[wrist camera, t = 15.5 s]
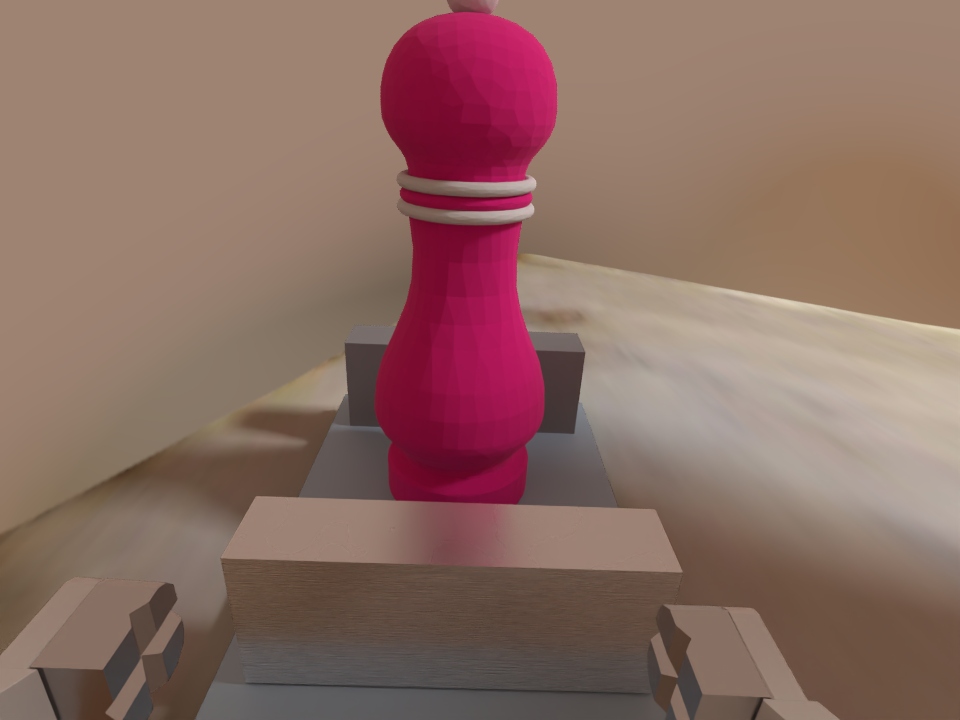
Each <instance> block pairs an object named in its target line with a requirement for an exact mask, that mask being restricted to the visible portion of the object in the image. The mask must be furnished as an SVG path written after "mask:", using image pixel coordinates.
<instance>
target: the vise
mask: <svg viewBox="0 0 960 720" xmlns="http://www.w3.org/2000/svg"><path fill="white" fill-rule="evenodd" d="M395 328H396V326H371V325H355V326H354V327H353V329H352V331H351V333H350V335H349V336H348V338H347V340H346V342H345V355H346V371H347V386H348V394H345V396H344V399H343V401H342V403H341V405H340V407H339V409H338V412H337V414H336V416H335V418H334V420H333V422H332V425H331V427H330V429H329V431H328V433H327V435H326V437H325V440H324V442H323V444H322V446H321V448H320V450H319V453H318V455H317V457H316V459H315V461H314V463H313V466H312V468H311V470H310V472H309V474H308V476H307V479H306V481H305V483H304V485H303V487H302V489H301V492H300V494H299V496H298V497H300V498H330V499H360V500H391V501H396V500H395V499H394V497H393V495H392V494H391V491H390V487H389V472H388V451H389V447H390V445H391V443H392V441H391V440H390V439H389V438H388V437H387V436H386V435H385V433H384V432H383V430H382V428H381V427H380V425H379V423H378V421H377V417H376V413H375V390H376V381H377V375H378V371H379V367H380V364H381V360H382V357H383V355H384V353H385V350H386V348H387V346H388V344H389V341H390V339H391V337H392V335H393V333H394V330H395ZM528 334H529V336H530V339H531V341H532V344H533V346H534V349H535V351H536V354H537V356H538V359H539V362H540V367H541V371H542V376H543V381H544V388H545V390H544V416H543V420H542V422H541V425H540V427H539V429H538V430H537V432H536V434H535V435H534V437H533V438H532V439H531V440H530V441H529V442H528V443H527V444H526V445H525V446H526V449H527V454H528V464H527V475H526V486H525V491H524V494H523V496H522V497H521V499H520V500H519V502H518V503H517V505H542V506H572V507H603V508H618V505H617V502H616V500H615V497H614V494H613V491H612V488H611V485H610V482H609V480H608V477H607V474H606V471H605V468H604V465H603V462H602V459H601V457H600V454H599V451H598V448H597V445H596V442H595V439H594V437H593V434H592V431H591V428H590V425H589V422H588V419H587V417H586V414H585V411H584V408H583V405H582V403H579V395H580V388H581V380H582V373H583V365H584V358H585V351H584V348H583V346H582V344H581V341H580V339H579V337H578V334H574V333H548V332H528ZM666 714H667V713H666V712H665V711H664V710H663V709H662V708H661V707H660V706H659V705H658V704H657V703H656V702H655V701H654V698H653V694H652V693H626V692H588V691H549V690H511V689H473V688H435V687H397V686H358V685H320V684H282V683H245V678H244V673H243V668H242V663H241V659H240V654H239V649H238V644H237V639H236V634H234V636H233V638H232V641H231V643H230V645H229V647H228V649H227V651H226V654H225V656H224V658H223V660H222V662H221V664H220V667H219V669H218V671H217V673H216V675H215V677H214V679H213V682H212V684H211V686H210V688H209V690H208V692H207V695H206V697H205V699H204V701H203V703H202V705H201V708H200V710H199V712H198V714H197V716H196V718H195V720H665V718H666Z"/></svg>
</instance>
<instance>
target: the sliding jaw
mask: <svg viewBox="0 0 960 720" xmlns="http://www.w3.org/2000/svg"><path fill="white" fill-rule="evenodd" d="M220 559H221V564H222V569H223V574H224V579H225V584H226V589H227V594H228V599H229V604H230V609H231V614H232V619H233V624H234V629H235V634H236V639H237V644H238V649H239V654H240V659H241V663H242V668H243V673H244V678H245V683H282V684H320V685H358V686H397V687H435V688H473V689H511V690H549V691H588V692H626V693H652V691H651V687H650V683H649V677H648V671H647V653H648V648H649V644H650V639H651V638H653V637H654V636H655V635H656V634H658V633H659V629H658V626H657V623H656V617H657V614H658V610H659V609H660V607H661V606H662V605H663V604H667V605H675V602H676V598H677V594H678V590H679V586H680V583H681V579H682V575H683V571H682V569H681V566H680V564H679V562H678V560H677V557H676V555H675V553H674V551H673V548H672V546H671V544H670V541H669V539H668V537H667V535H666V532H665V530H664V528H663V526H662V523H661V521H660V519H659V516H658V514H657V512H656V510H655V509H633V508H603V507H572V506H542V505H512V504H482V503H451V502H421V501H391V500H360V499H330V498H300V497H270V496H256V497H255V499H254V500H253V502H252V504H251V506H250V507H249V509H248V511H247V513H246V514H245V516H244V518H243V520H242V521H241V523H240V525H239V527H238V528H237V530H236V532H235V534H234V535H233V537H232V539H231V541H230V542H229V544H228V546H227V548H226V549H225V551H224V553H223V555H222V556H221V558H220Z"/></svg>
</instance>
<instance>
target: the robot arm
mask: <svg viewBox="0 0 960 720" xmlns="http://www.w3.org/2000/svg"><path fill="white" fill-rule="evenodd" d="M176 601H177V596H176V592H175V589H174V585H173V584H170V583H164V582H150V581H136V580H122V579H108V578H107V579H102V578H87V577H75V578H73V579H71V580H69V581H67V582H66V583H64V584H63V585H62V586H61V587H60V588H59V590H58V591H57V592H56V593H55V594H54V595H53V596H52V597H51V599H50V600H49V601H48V602H47V603H46V604H45V605H44V606H43V608H42V609H41V610H40V611H39V612H38V613H37V614H36V615H35V617H34V618H33V619H32V620H31V621H30V622H29V623H28V624H27V626H26V627H25V628H24V629H23V630H22V631H21V632H20V633H19V635H18V636H17V637H16V638H15V639H14V640H13V641H12V642H11V644H10V645H9V646H8V647H7V648H6V649H5V650H4V651H3V653H2V654H1V655H0V720H147V719H148V717H149V715H150V714H151V712H152V710H153V702H152V696H151V694H152V693H153V692H154V691H156V690H157V689H158V688H159V687H161V686H162V685H163V684H165V683H166V682H167V681H169V679H170V677H171V675H172V673H173V671H174V669H175V667H176V665H177V664H178V660H179V657H180V653H181V650H182V647H183V640H184V627H183V622H182V619H181V618H180V617H179V616H178V615H177V614H176V613H175V612H174V611H173V610H171V609H172V607H173V605H174V604H175V602H176ZM656 623H657V626H658V629H659V633H658V634H656V635H655V636H654V637H653V638H651V639H650V644H649V648H648V653H647V671H648V677H649V683H650V687H651V691H652V694H653V698H654V701H655V702H656V703H657V704H658V705H659V706H660V707H661V708H662V709H663V710H664V711H665V712H666V713H667V714H666V718H665V720H840V719H839V718H837V717H836V716H835V715H834V714H832V713H831V712H830V711H829V710H828V709H826V708H825V707H824V706H823V705H821V704H820V703H819V702H818V701H808V700H807V698H806V696H805V694H804V693H803V691H802V689H801V687H800V686H799V684H798V682H797V680H796V679H795V677H794V675H793V673H792V672H791V670H790V668H789V666H788V664H787V663H786V661H785V659H784V657H783V656H782V654H781V652H780V650H779V649H778V647H777V645H776V643H775V642H774V640H773V638H772V636H771V635H770V633H769V631H768V629H767V627H766V626H765V624H764V622H763V620H762V619H761V617H760V615H759V613H758V612H756V611H755V610H754V609H753V608H744V607H719V606H698V605H667V604H663V605H662V606H661V607H660V609H659V610H658V614H657V617H656Z"/></svg>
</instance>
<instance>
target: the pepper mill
mask: <svg viewBox="0 0 960 720" xmlns="http://www.w3.org/2000/svg"><path fill="white" fill-rule="evenodd" d="M498 1H499V0H447V2H448V4H449V7H450V8H451V9H452V11H453V12H454V13H448V14H443V15H437V16H434V17H432V18H429V19H426V20H424V21H422V22H420V23H418V24H417V25H415V26H413V27H412V28H411V29H410V30H408V31H407V32H406V33H405V34H404V35H403V36H402V37H401V38H400V39H399V41H398V42H397V43H396V44H395V45H394V47H393V49H392V51H391V53H390V55H389V57H388V59H387V61H386V64H385V68H384V71H383V75H382V81H381V113H382V119H383V121H384V124H385V127H386V129H387V131H388V133H389V135H390V137H391V138H392V140H393V141H394V142H395V144H396V145H397V146H398V147H399V149H400V150H401V152H402V154H403V155H404V157H405V159H406V162H407V166H408V170H405V171H402V172H400V173H399V174H398V175H397V183H398V184H399V185H400V186H401V187H402V188H401V190H400V196H401V199H399V201H398V203H397V208H398V210H399V211H400V212H401V213H402V214H404V215H406V216H409V219H410V226H411V235H412V242H413V261H412V280H411V284H410V289H409V293H408V297H407V301H406V304H405V306H404V309H403V312H402V314H401V317H400V319H399V321H398V324H397V326H396V328H395V330H394V333H393V335H392V337H391V339H390V341H389V344H388V346H387V348H386V350H385V353H384V355H383V357H382V360H381V364H380V367H379V371H378V375H377V381H376V390H375V413H376V417H377V421H378V423H379V425H380V427H381V428H382V430H383V432H384V433H385V435H386V436H387V437H388V438H389V439H390V440H391V441H392V443H391V445H390V447H389V451H388V472H389V487H390V491H391V494H392V495H393V497H394V499H395V500H396V501H421V502H451V503H482V504H512V505H517V503H518V502H519V500H520V499H521V497H522V496H523V494H524V491H525V486H526V475H527V464H528V454H527V449H526V446H525V445H526V444H527V443H528V442H529V441H530V440H531V439H532V438H533V437H534V435H535V434H536V432H537V430H538V429H539V427H540V425H541V422H542V420H543V416H544V390H545V388H544V381H543V376H542V371H541V367H540V362H539V359H538V356H537V354H536V351H535V349H534V346H533V344H532V341H531V339H530V336H529V334H528V331H527V328H526V325H525V322H524V319H523V316H522V313H521V310H520V304H519V299H518V293H517V287H516V281H517V250H518V243H519V237H520V230H521V224H522V221H523V220H526V219H528V218H530V217H531V216H532V215H533V214H534V207H533V205H532V204H531V201H532V195H531V193H530V192H532V191H533V190H534V189H535V187H536V181H535V179H534V178H533V177H531V176H529V175H526V174H525V173H526V170H527V168H528V165H529V163H530V162H531V160H532V159H533V157H534V156H535V155H536V154H537V153H538V151H539V150H540V149H541V148H542V147H543V146H544V145H545V143H546V142H547V140H548V139H549V137H550V135H551V133H552V131H553V128H554V126H555V121H556V114H557V83H556V79H555V75H554V71H553V66H552V63H551V61H550V59H549V57H548V55H547V53H546V52H545V50H544V48H543V46H542V45H541V44H540V43H539V42H538V40H537V39H536V38H535V37H534V36H533V35H532V34H531V33H529V32H528V31H526V30H525V29H523V28H522V27H521V26H519V25H518V24H516V23H513V22H511V21H509V20H506V19H504V18H501V17H498V16H494V15H490V14H491V13H492V12H493V10H494V9H495V7H496V5H497V3H498Z"/></svg>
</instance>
